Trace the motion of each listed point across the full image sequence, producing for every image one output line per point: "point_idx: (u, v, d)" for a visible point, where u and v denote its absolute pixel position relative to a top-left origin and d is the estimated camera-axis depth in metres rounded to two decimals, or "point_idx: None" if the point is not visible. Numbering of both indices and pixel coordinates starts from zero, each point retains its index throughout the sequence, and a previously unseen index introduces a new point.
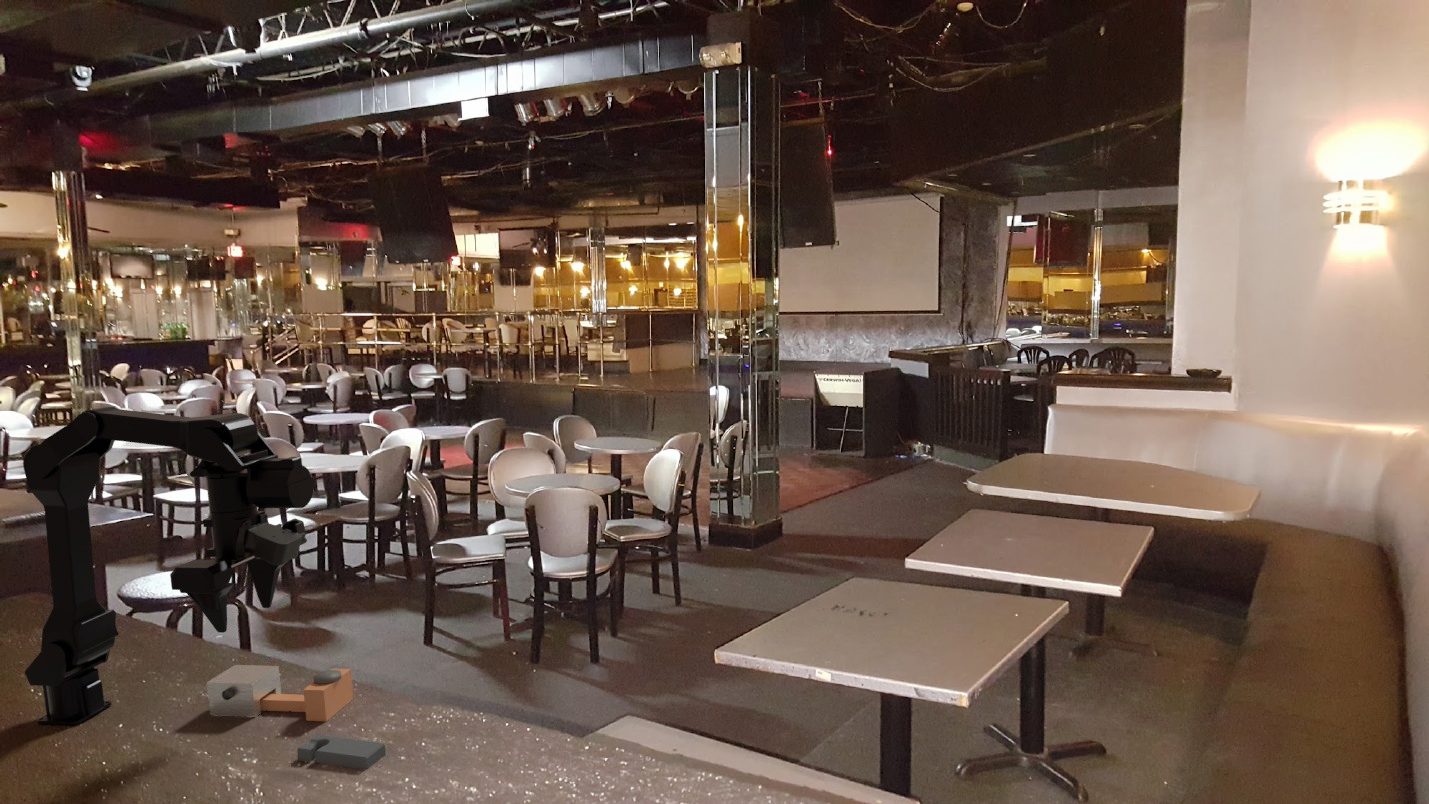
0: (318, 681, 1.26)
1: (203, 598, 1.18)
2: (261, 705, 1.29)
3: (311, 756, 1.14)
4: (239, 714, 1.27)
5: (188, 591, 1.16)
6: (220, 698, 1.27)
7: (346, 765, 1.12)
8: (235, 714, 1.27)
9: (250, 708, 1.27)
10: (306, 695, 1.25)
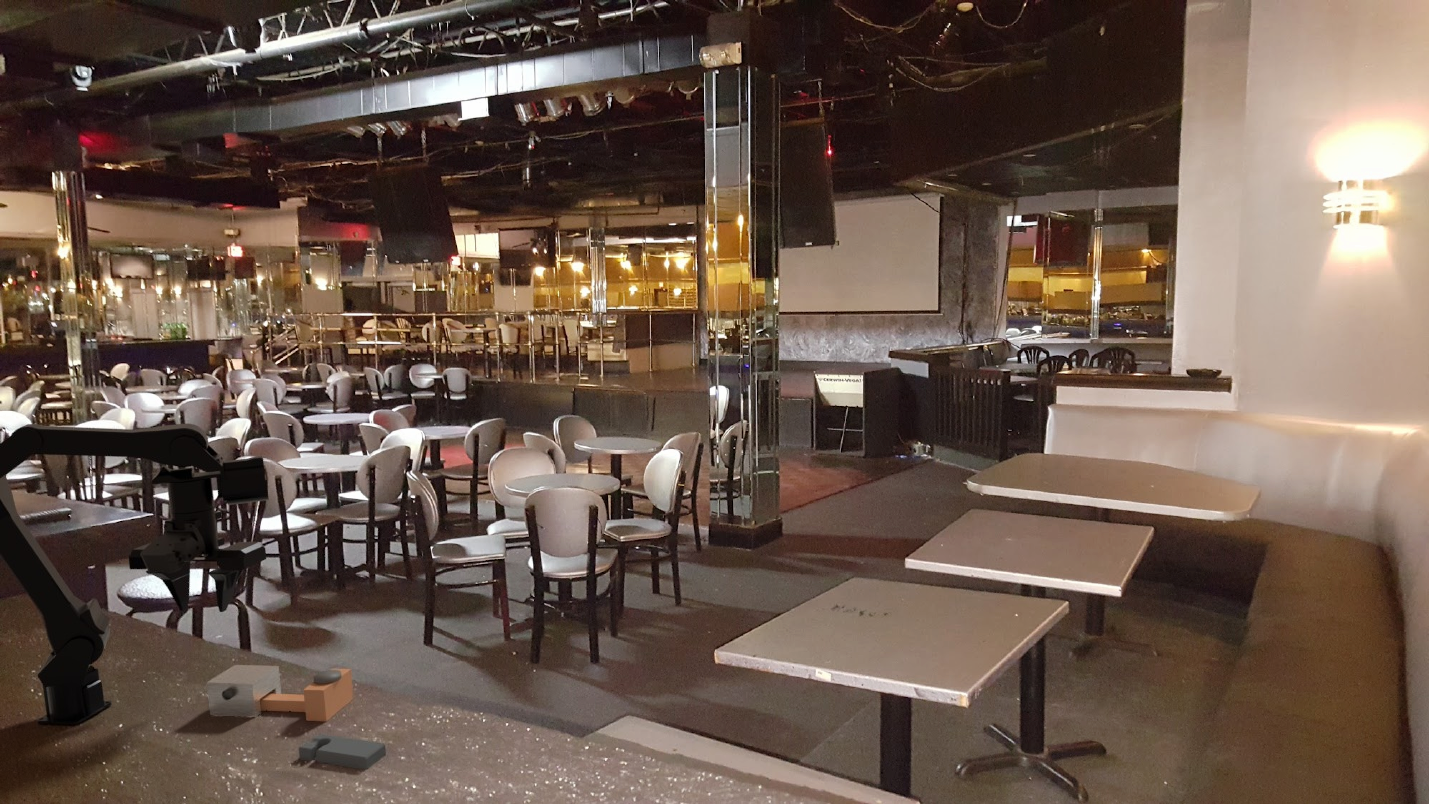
0: (318, 681, 1.26)
1: None
2: (261, 705, 1.29)
3: (312, 755, 1.14)
4: (239, 714, 1.27)
5: None
6: (220, 698, 1.27)
7: (347, 765, 1.12)
8: (235, 714, 1.27)
9: (250, 708, 1.27)
10: (306, 695, 1.25)
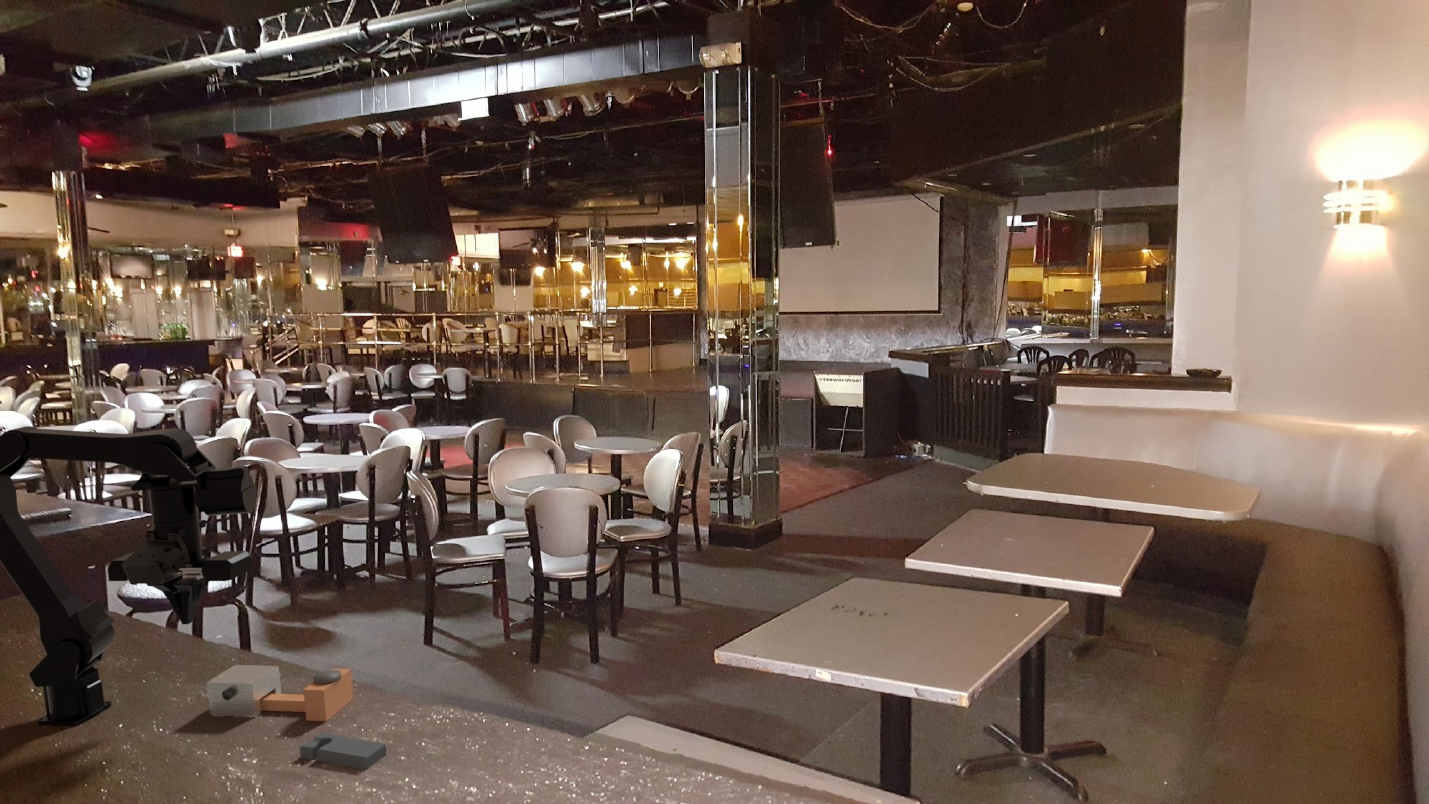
0: (318, 681, 1.26)
1: None
2: (261, 705, 1.29)
3: (313, 754, 1.15)
4: (239, 714, 1.27)
5: None
6: (220, 698, 1.27)
7: (347, 765, 1.13)
8: (235, 714, 1.27)
9: (250, 708, 1.27)
10: (306, 695, 1.25)
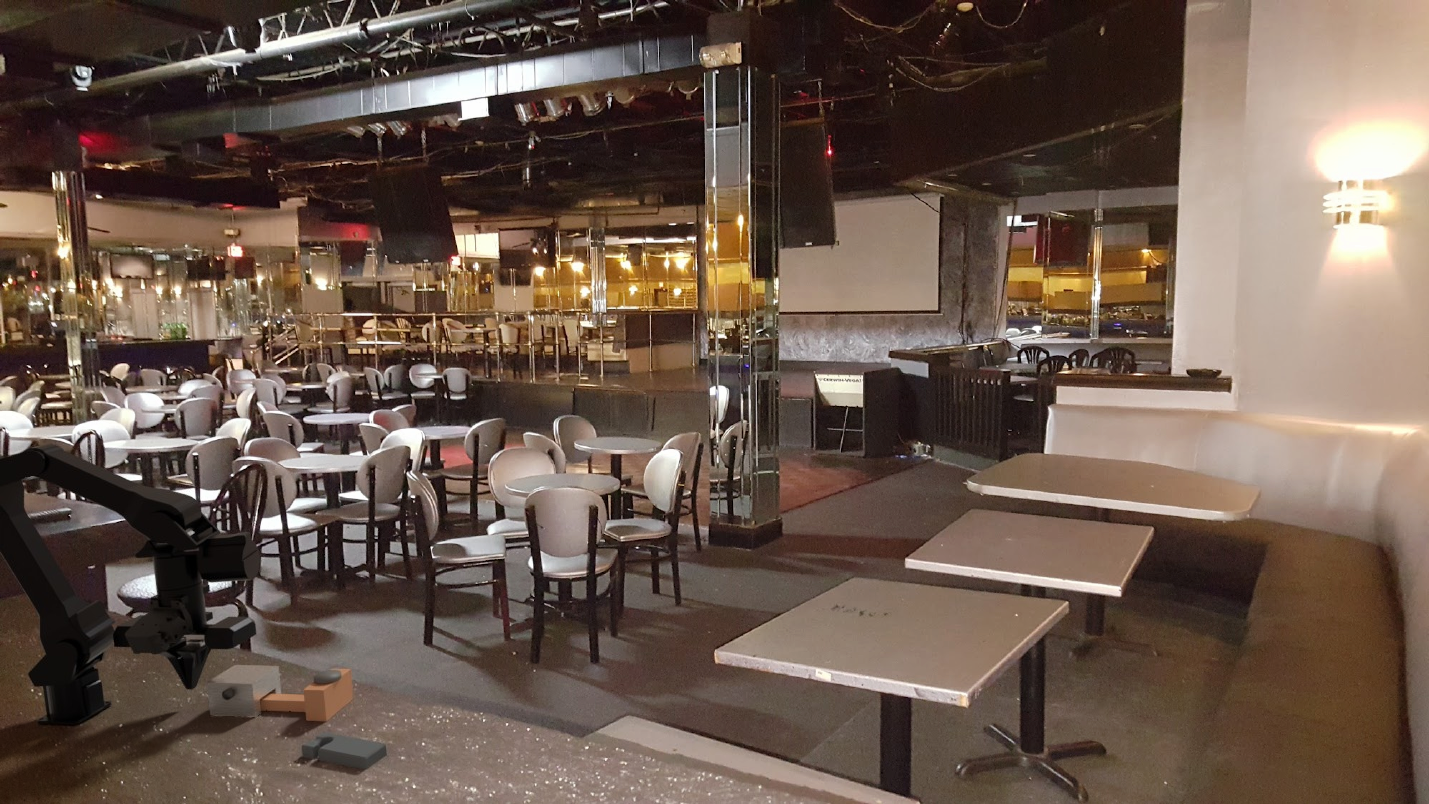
0: (318, 681, 1.26)
1: None
2: (261, 705, 1.29)
3: (314, 753, 1.15)
4: (239, 714, 1.27)
5: None
6: (220, 698, 1.27)
7: (347, 764, 1.13)
8: (235, 714, 1.27)
9: (250, 708, 1.27)
10: (306, 695, 1.25)
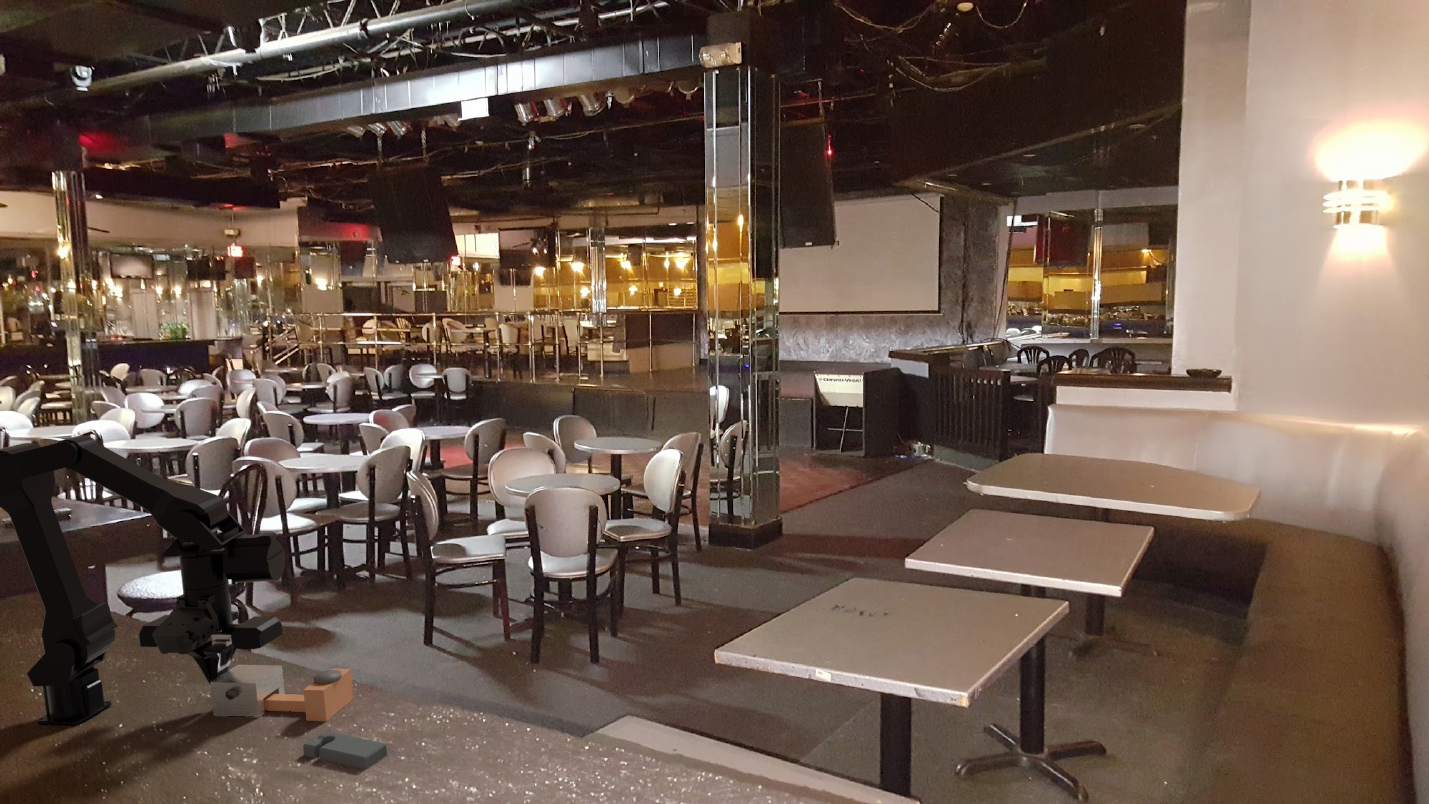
0: (318, 681, 1.26)
1: None
2: None
3: (315, 752, 1.15)
4: (242, 714, 1.27)
5: None
6: (223, 698, 1.27)
7: (347, 764, 1.13)
8: (238, 714, 1.27)
9: (253, 708, 1.27)
10: (306, 695, 1.25)
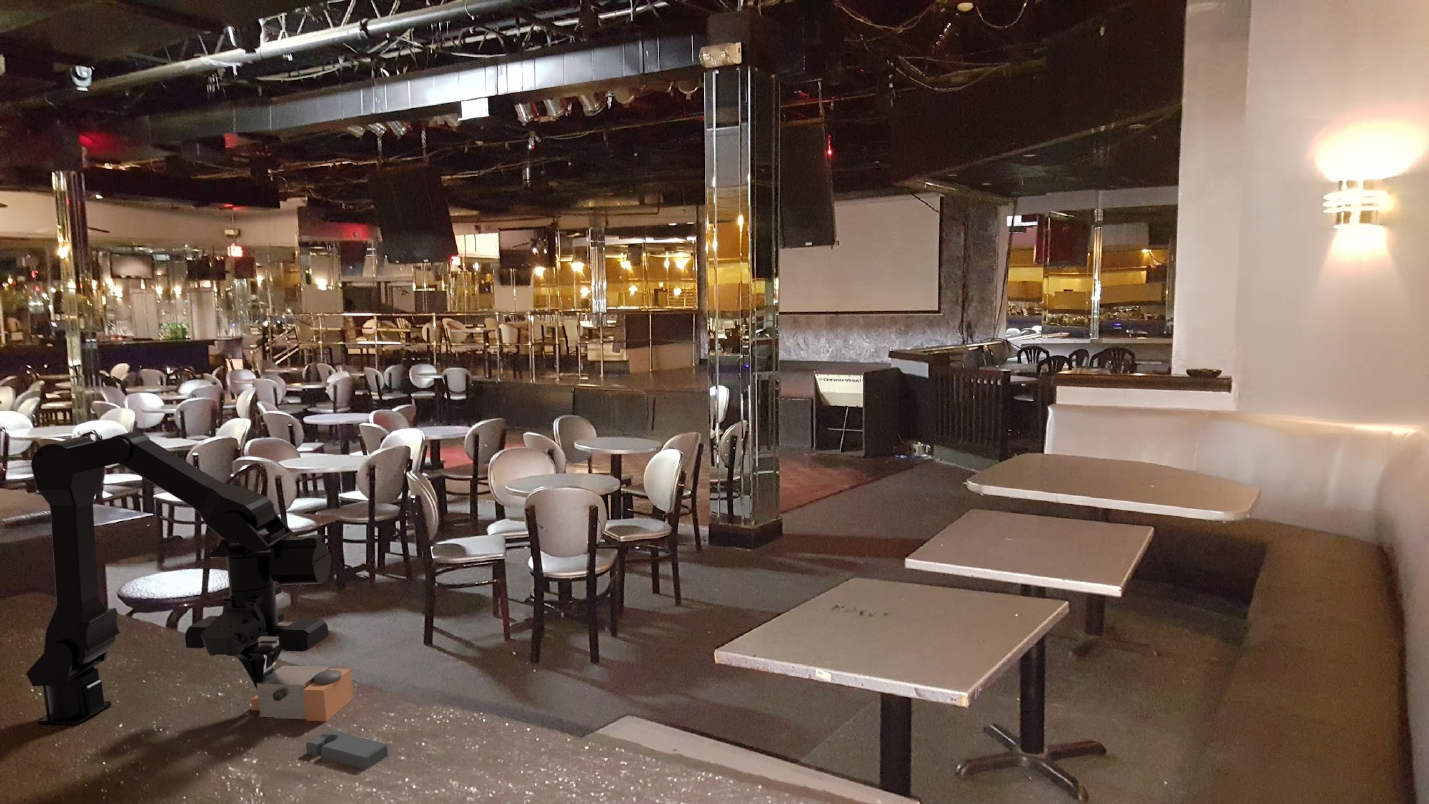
0: (318, 681, 1.26)
1: None
2: None
3: (318, 751, 1.15)
4: (290, 715, 1.26)
5: None
6: (270, 699, 1.26)
7: (348, 763, 1.13)
8: (285, 715, 1.26)
9: (301, 709, 1.26)
10: (306, 695, 1.25)
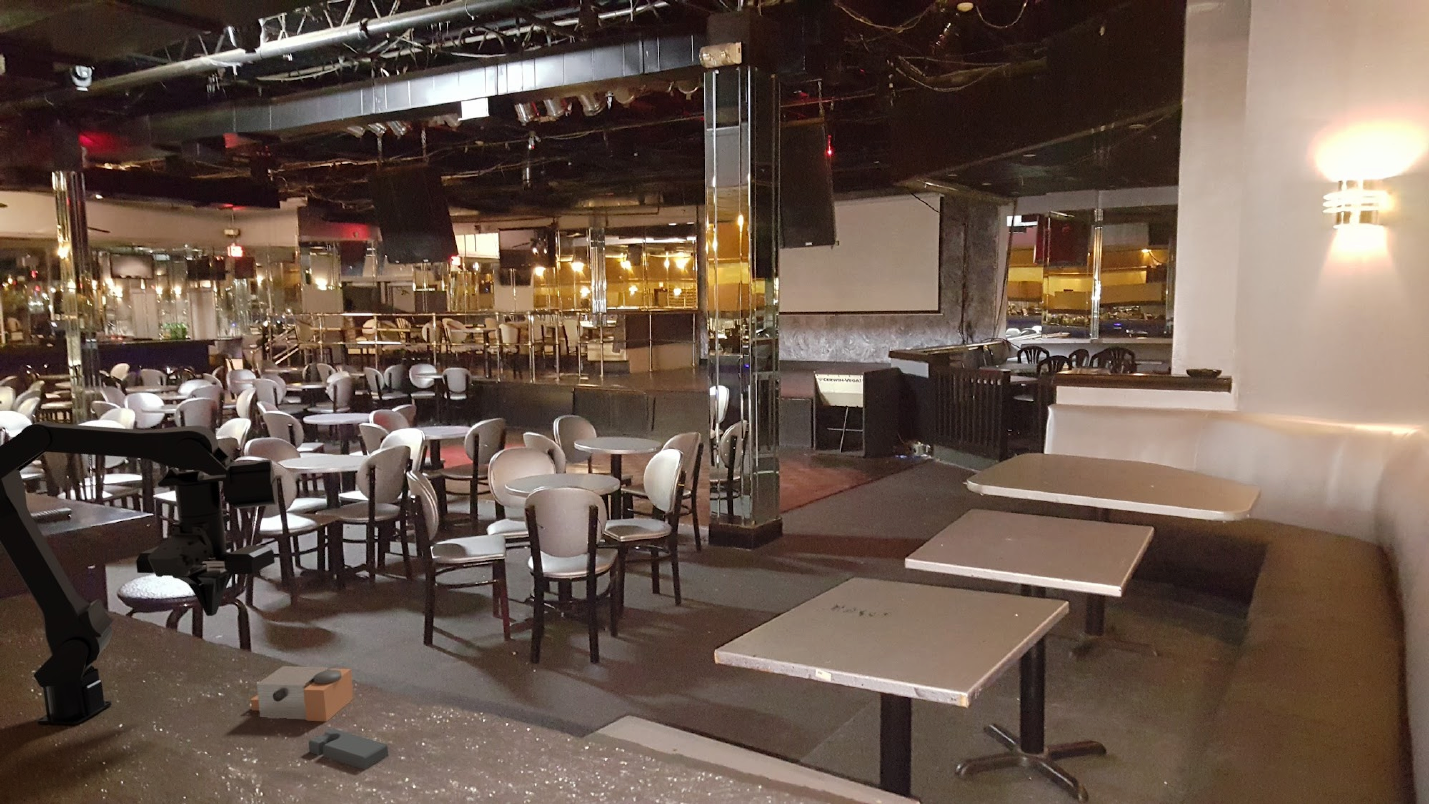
0: (318, 681, 1.26)
1: None
2: None
3: (320, 749, 1.16)
4: (290, 716, 1.26)
5: None
6: (270, 700, 1.26)
7: (348, 763, 1.13)
8: (285, 716, 1.26)
9: (301, 710, 1.26)
10: (306, 695, 1.25)
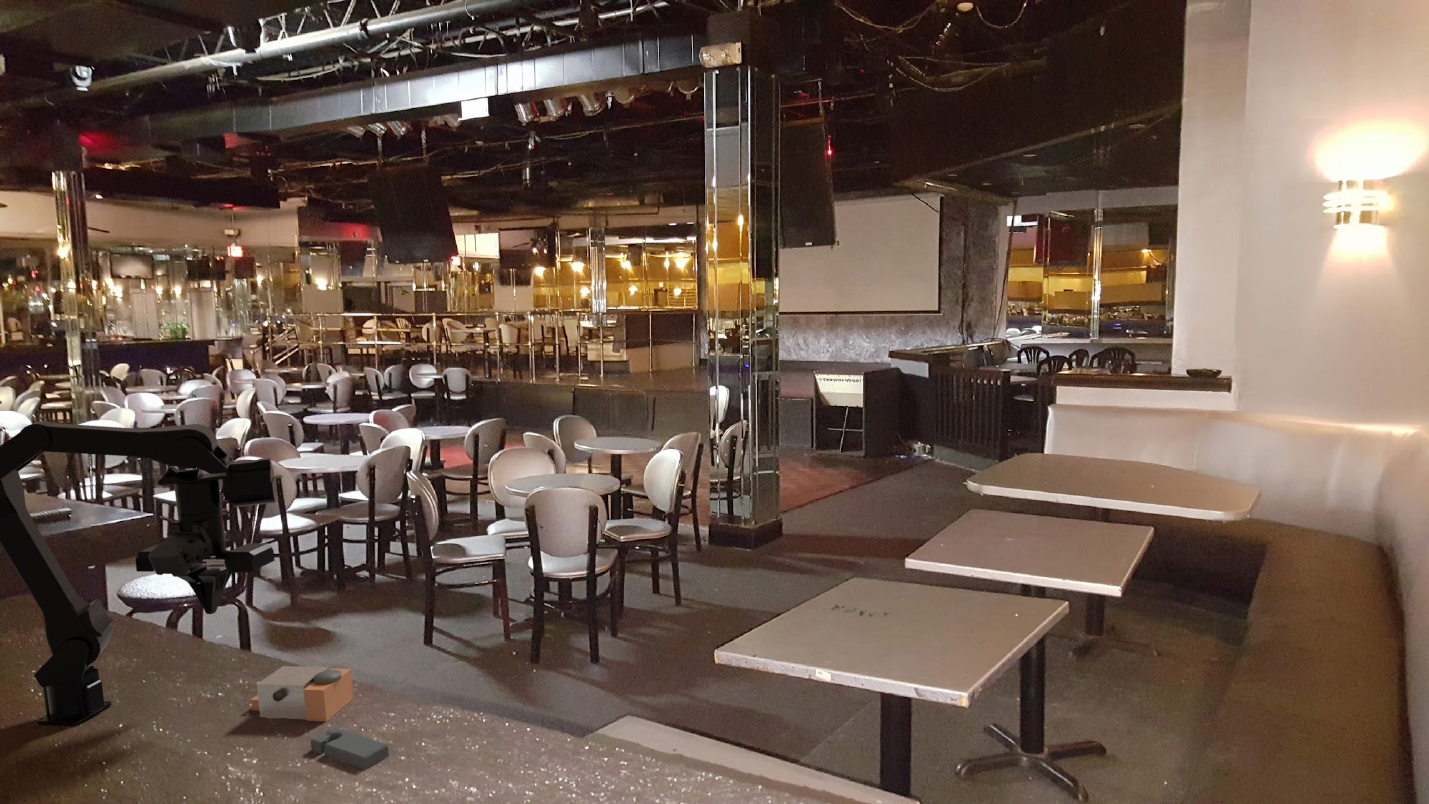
0: (318, 681, 1.26)
1: None
2: None
3: (321, 748, 1.16)
4: (290, 716, 1.26)
5: None
6: (270, 700, 1.26)
7: (348, 763, 1.13)
8: (285, 716, 1.26)
9: (301, 710, 1.26)
10: (306, 695, 1.25)
